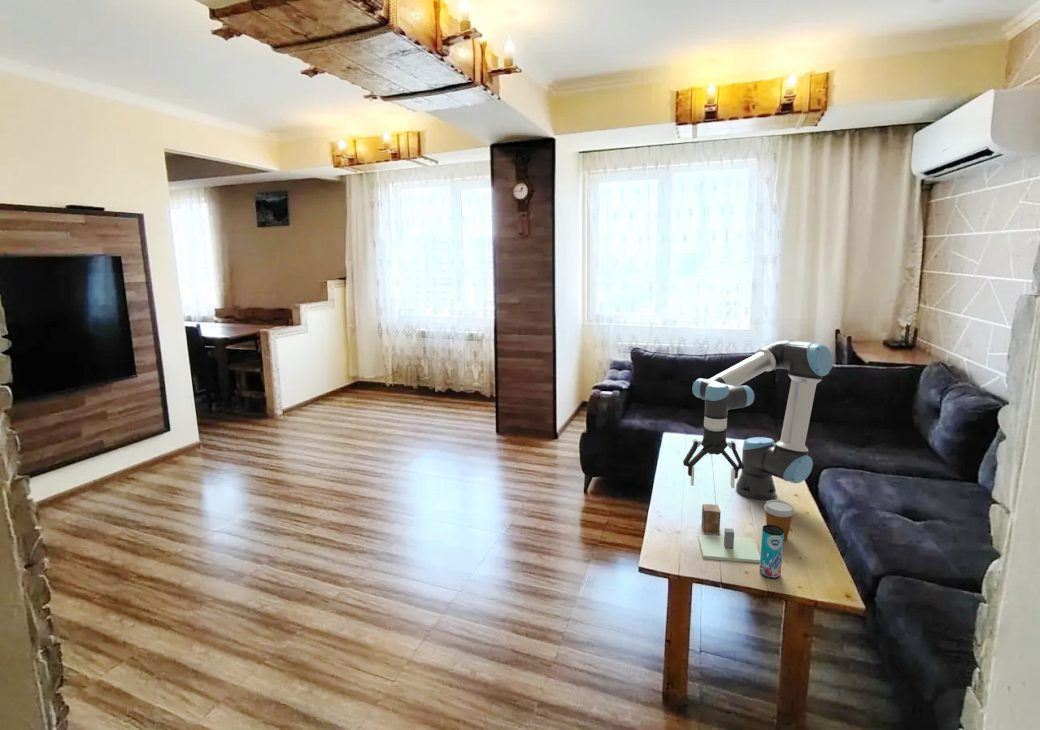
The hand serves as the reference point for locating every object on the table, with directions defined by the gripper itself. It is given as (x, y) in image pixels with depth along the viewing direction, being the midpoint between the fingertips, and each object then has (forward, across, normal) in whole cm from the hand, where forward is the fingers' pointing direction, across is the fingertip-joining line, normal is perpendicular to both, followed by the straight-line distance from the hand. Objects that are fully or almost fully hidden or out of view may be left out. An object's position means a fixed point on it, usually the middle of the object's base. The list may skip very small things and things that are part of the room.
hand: (712, 485), depth 191 cm
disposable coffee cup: (+17, -22, +2) cm, 28 cm away
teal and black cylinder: (+17, -14, +26) cm, 34 cm away
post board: (+17, -4, +13) cm, 22 cm away
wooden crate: (+17, 0, 0) cm, 17 cm away
